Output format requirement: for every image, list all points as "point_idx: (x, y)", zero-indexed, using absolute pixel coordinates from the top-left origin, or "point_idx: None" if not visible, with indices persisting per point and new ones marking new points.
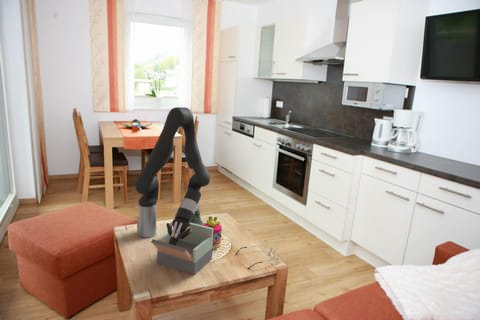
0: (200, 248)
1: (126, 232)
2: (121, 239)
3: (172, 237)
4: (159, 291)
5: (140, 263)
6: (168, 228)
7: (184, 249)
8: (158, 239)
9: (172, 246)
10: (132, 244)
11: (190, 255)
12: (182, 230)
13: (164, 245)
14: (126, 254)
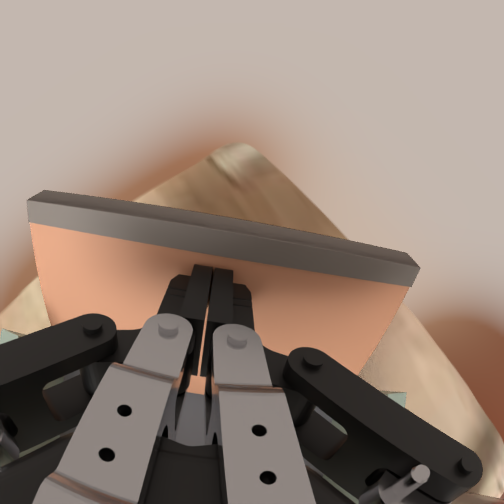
0: None
1: (495, 473)
2: (494, 434)
3: (223, 321)
4: (189, 183)
5: (380, 344)
6: (393, 421)
7: (39, 198)
8: (398, 394)
9: (164, 214)
10: (464, 439)
11: (49, 315)
12: (60, 439)
13: (262, 224)
14: (451, 371)
